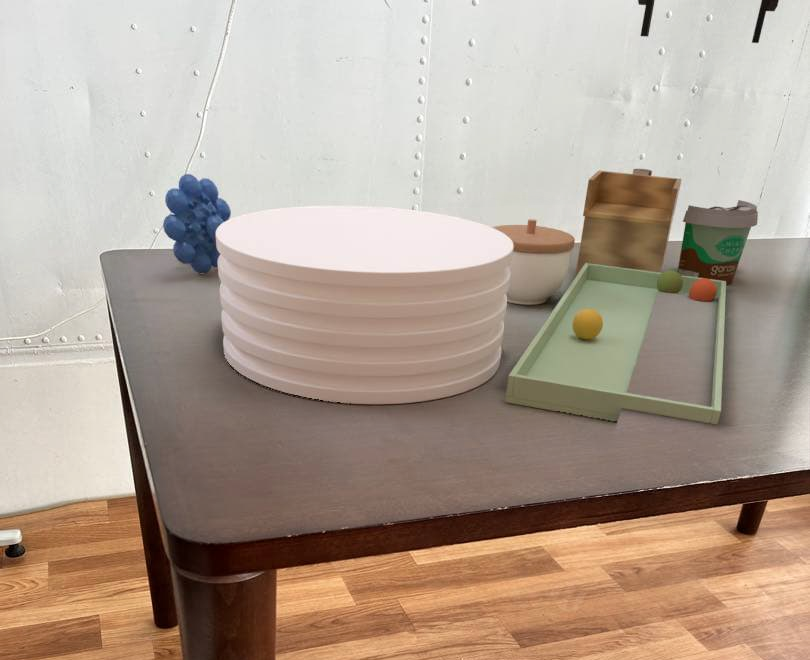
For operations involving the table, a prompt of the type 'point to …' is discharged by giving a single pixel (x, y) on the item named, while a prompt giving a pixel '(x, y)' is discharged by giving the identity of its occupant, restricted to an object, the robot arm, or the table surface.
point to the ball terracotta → (703, 290)
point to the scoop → (632, 197)
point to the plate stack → (363, 302)
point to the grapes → (195, 221)
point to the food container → (715, 240)
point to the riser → (623, 244)
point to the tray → (604, 350)
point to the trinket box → (536, 261)
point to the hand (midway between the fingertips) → (698, 40)
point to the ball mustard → (587, 324)
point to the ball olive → (670, 282)
